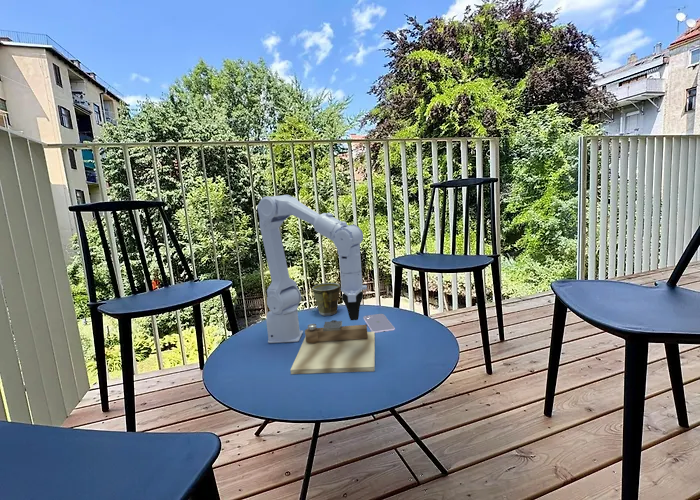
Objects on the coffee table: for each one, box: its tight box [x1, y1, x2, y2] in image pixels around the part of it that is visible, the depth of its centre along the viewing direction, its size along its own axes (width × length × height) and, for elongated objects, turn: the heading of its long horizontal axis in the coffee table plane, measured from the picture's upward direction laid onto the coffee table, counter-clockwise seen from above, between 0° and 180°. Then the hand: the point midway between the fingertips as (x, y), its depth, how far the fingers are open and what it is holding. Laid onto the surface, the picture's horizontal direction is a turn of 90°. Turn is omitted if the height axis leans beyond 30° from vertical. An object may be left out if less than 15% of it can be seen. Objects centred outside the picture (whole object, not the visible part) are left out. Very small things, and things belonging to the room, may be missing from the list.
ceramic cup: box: [312, 282, 341, 317], centre depth 134 cm, size 13×10×10 cm
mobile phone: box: [362, 313, 396, 334], centre depth 122 cm, size 8×1×15 cm
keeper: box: [307, 319, 343, 331], centre depth 110 cm, size 10×6×5 cm, turn 86°
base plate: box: [290, 331, 376, 375], centre depth 103 cm, size 21×22×1 cm
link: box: [304, 324, 368, 343], centre depth 109 cm, size 18×4×3 cm, turn 90°
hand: (354, 319), depth 101 cm, fingers closed
